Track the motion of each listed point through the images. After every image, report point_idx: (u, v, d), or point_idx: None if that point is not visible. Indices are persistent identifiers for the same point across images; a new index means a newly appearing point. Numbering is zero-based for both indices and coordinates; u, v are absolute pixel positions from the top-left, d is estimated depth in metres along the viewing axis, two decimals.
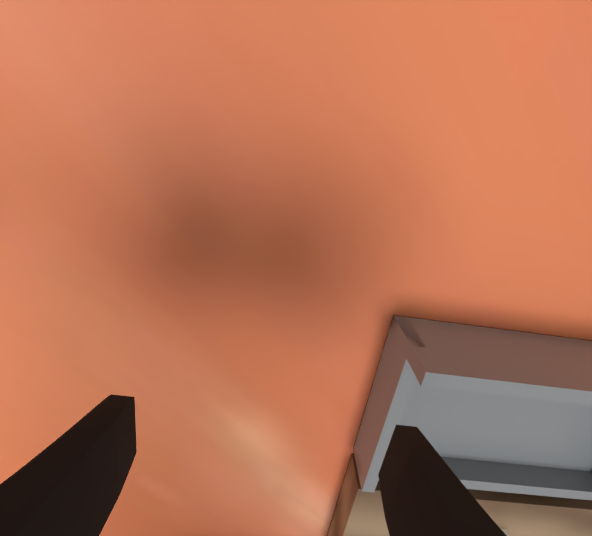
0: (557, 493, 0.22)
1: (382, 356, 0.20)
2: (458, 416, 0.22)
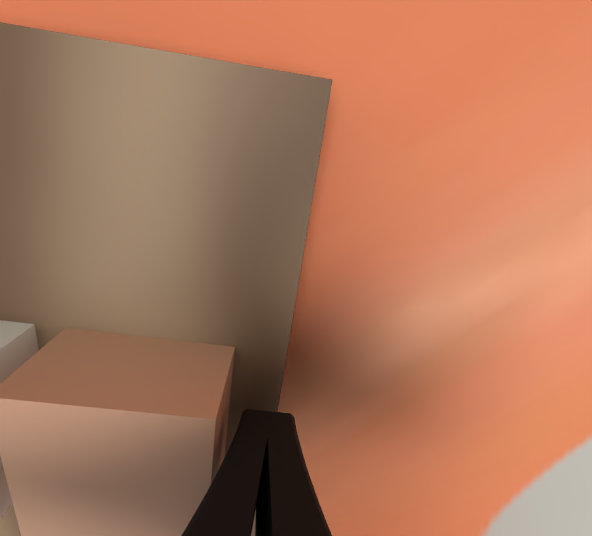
0: None
1: None
2: None
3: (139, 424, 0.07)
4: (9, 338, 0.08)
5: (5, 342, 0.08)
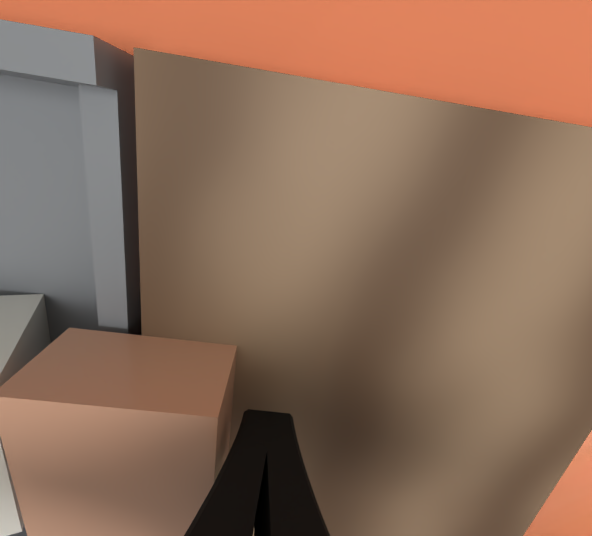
0: (108, 247, 0.08)
1: None
2: None
3: (142, 422, 0.07)
4: None
5: None
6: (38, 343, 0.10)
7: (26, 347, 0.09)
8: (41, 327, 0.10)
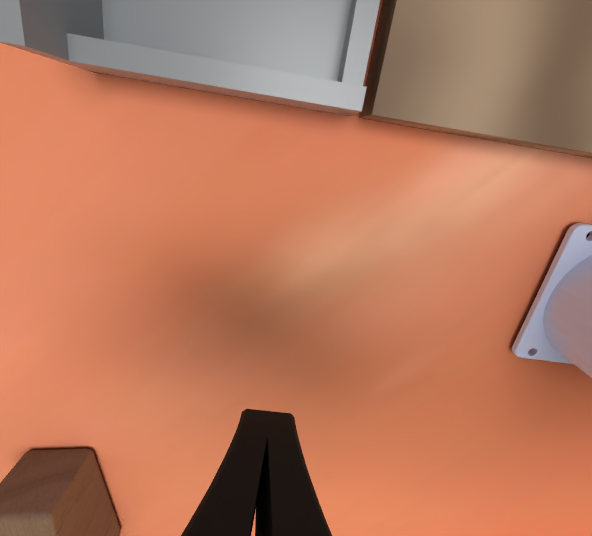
0: None
1: (160, 83, 0.14)
2: None
3: None
4: None
5: None
6: None
7: None
8: None
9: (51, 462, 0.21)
